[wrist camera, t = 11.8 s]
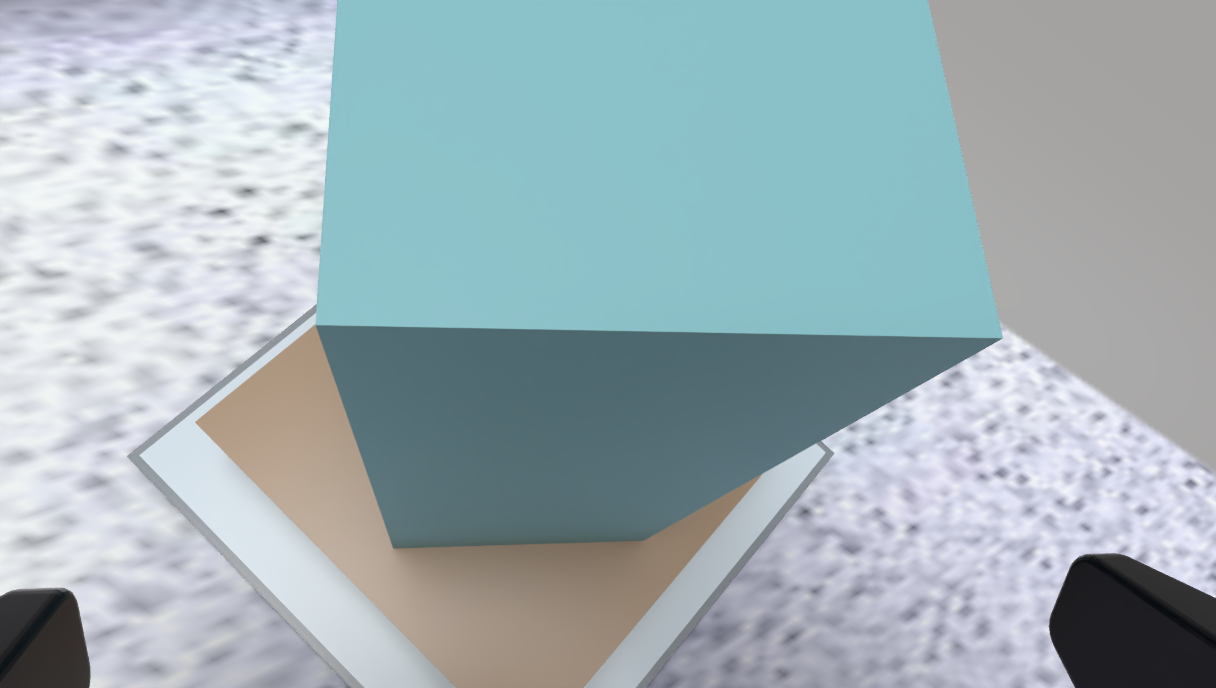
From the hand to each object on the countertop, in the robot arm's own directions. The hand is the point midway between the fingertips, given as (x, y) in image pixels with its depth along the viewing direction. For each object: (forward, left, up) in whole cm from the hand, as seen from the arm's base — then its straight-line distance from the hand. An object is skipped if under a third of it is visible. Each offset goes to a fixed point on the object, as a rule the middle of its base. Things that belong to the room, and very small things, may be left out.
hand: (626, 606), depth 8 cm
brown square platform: (+3, +3, -14) cm, 14 cm away
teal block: (+3, +3, -10) cm, 11 cm away
